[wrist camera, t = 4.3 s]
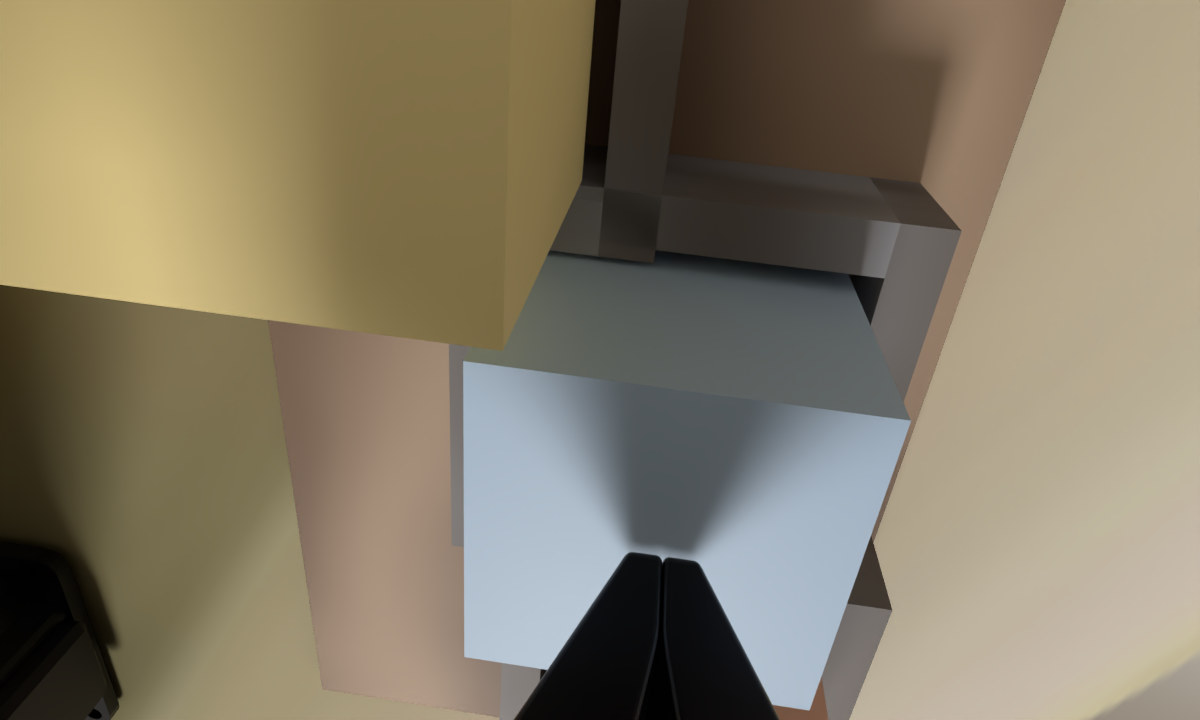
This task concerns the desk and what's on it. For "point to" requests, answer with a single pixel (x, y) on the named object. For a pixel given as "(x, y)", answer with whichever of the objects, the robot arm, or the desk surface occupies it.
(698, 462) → the pale blue cube
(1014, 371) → the desk surface
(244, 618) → the desk surface
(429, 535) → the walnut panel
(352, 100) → the yellow cube
